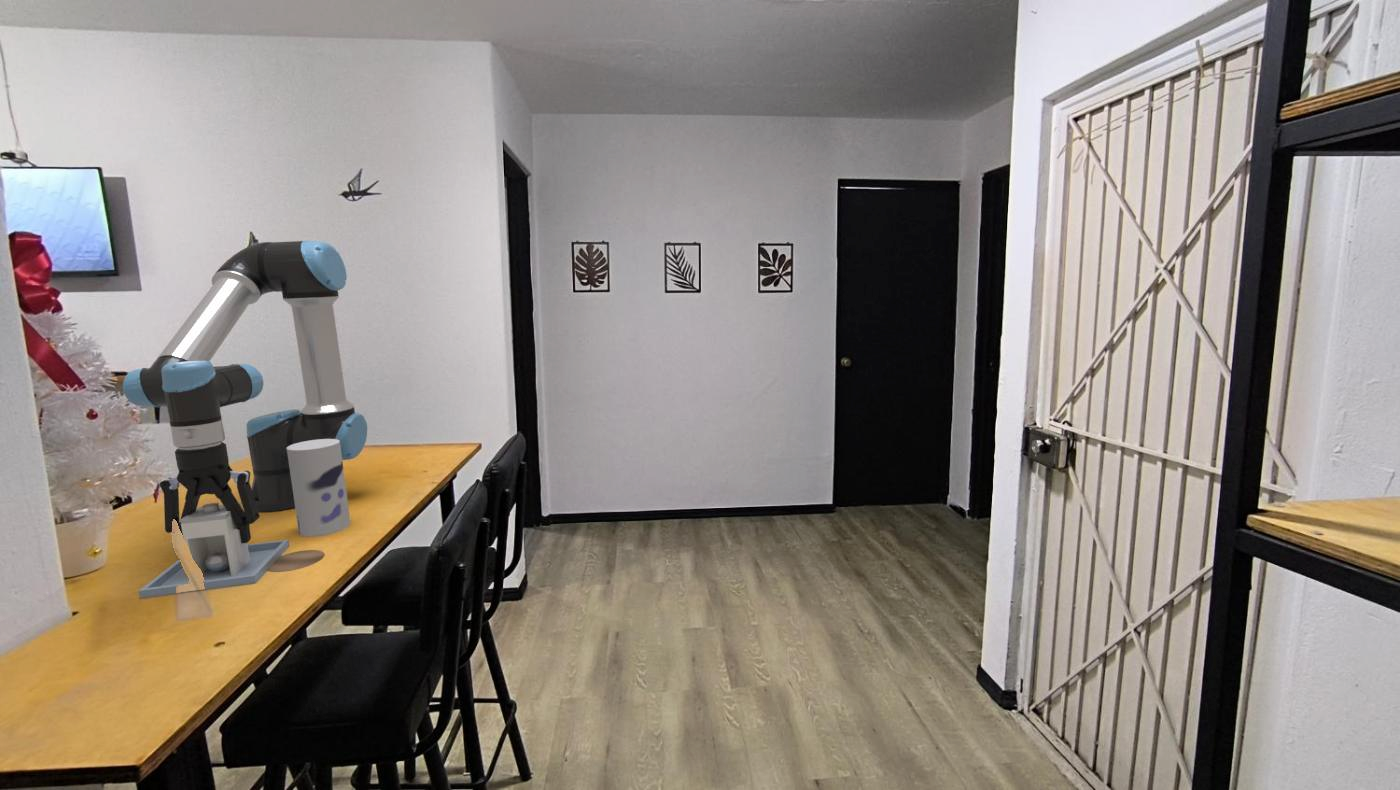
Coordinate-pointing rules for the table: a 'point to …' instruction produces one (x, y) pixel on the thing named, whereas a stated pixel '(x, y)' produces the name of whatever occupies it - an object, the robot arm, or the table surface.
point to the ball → (217, 561)
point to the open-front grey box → (211, 535)
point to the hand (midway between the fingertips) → (220, 561)
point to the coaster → (296, 560)
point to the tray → (248, 574)
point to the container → (318, 487)
